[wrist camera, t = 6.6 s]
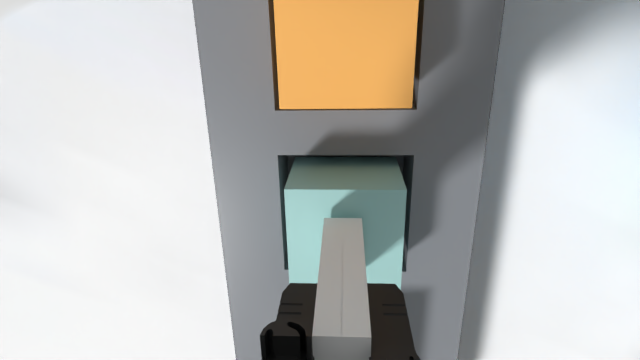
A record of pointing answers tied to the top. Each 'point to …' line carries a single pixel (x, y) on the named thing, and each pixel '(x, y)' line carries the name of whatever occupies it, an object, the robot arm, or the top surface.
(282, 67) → the button orange
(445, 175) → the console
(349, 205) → the button teal
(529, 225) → the top surface
